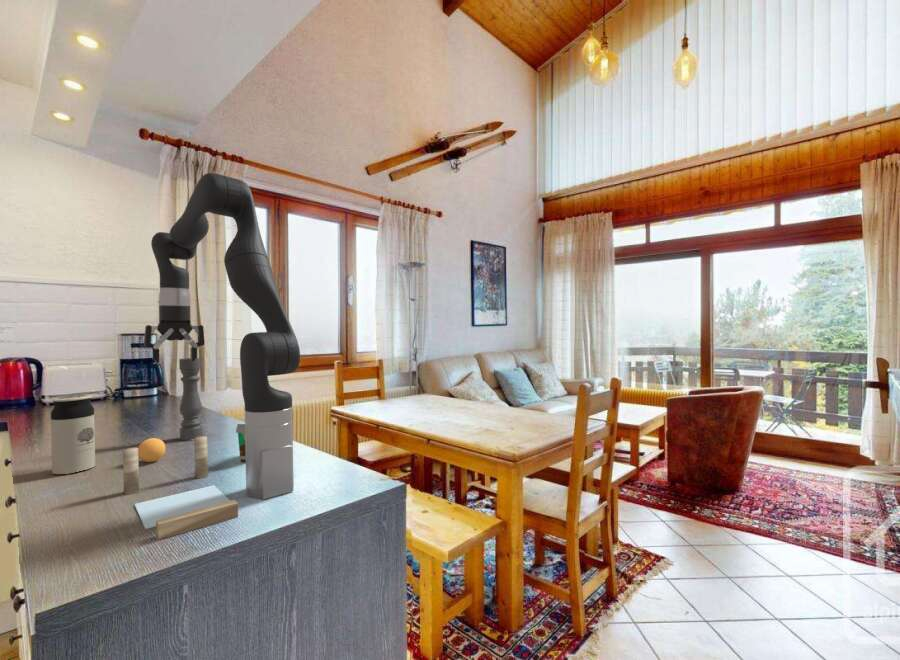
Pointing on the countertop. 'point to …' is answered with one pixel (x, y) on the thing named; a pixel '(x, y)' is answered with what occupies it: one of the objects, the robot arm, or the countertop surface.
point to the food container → (241, 441)
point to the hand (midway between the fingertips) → (175, 361)
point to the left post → (130, 470)
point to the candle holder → (190, 400)
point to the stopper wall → (196, 519)
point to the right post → (201, 457)
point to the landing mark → (178, 504)
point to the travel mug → (72, 434)
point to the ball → (151, 450)
